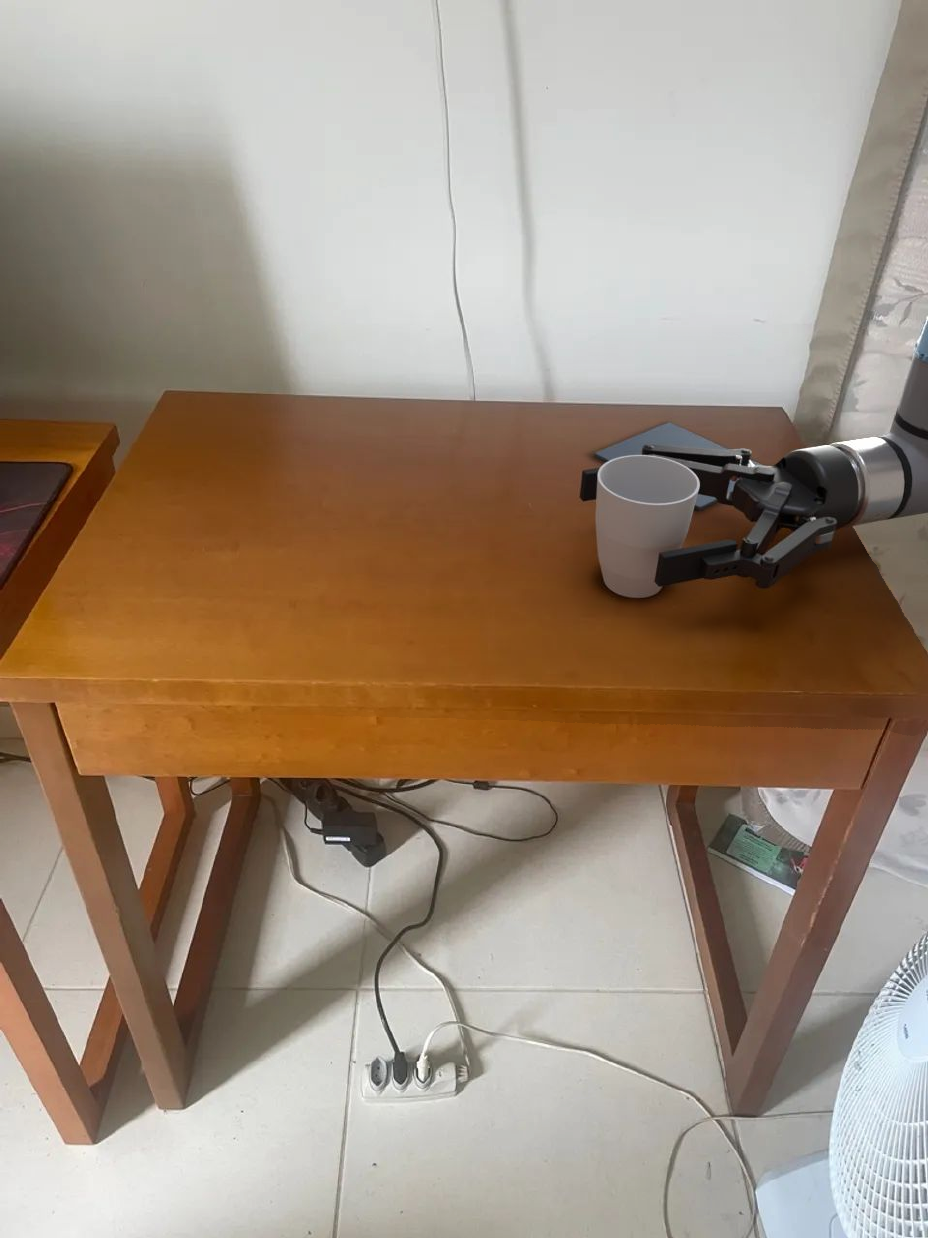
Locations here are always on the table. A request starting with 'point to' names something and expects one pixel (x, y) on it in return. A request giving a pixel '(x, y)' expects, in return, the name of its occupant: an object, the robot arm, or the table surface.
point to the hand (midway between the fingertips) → (618, 525)
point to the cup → (641, 519)
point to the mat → (667, 437)
